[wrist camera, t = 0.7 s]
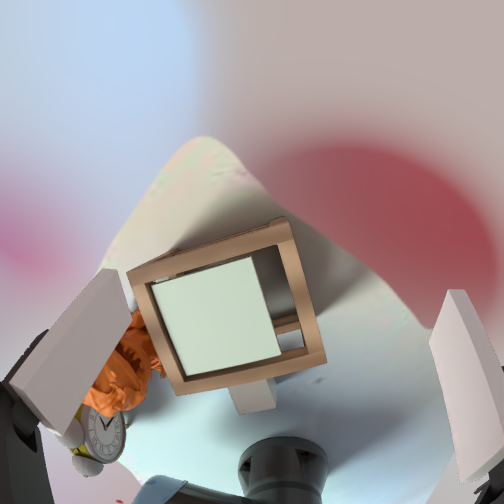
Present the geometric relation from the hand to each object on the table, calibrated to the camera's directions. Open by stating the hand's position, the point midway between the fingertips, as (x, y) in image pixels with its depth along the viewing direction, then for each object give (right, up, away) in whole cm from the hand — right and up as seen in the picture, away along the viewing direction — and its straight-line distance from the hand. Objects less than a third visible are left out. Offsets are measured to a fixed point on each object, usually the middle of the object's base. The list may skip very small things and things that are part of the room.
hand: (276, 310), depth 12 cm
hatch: (-4, -4, +19) cm, 20 cm away
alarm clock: (-25, -23, +35) cm, 49 cm away
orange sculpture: (-16, -9, +32) cm, 37 cm away
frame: (-2, -2, +30) cm, 30 cm away
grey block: (-1, -15, +32) cm, 35 cm away
